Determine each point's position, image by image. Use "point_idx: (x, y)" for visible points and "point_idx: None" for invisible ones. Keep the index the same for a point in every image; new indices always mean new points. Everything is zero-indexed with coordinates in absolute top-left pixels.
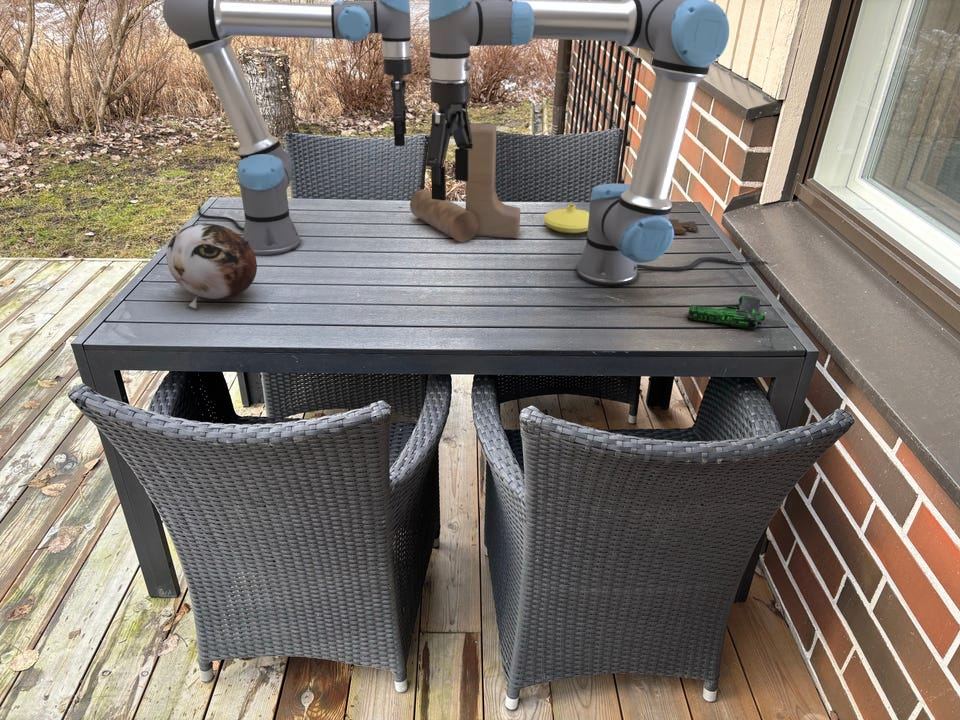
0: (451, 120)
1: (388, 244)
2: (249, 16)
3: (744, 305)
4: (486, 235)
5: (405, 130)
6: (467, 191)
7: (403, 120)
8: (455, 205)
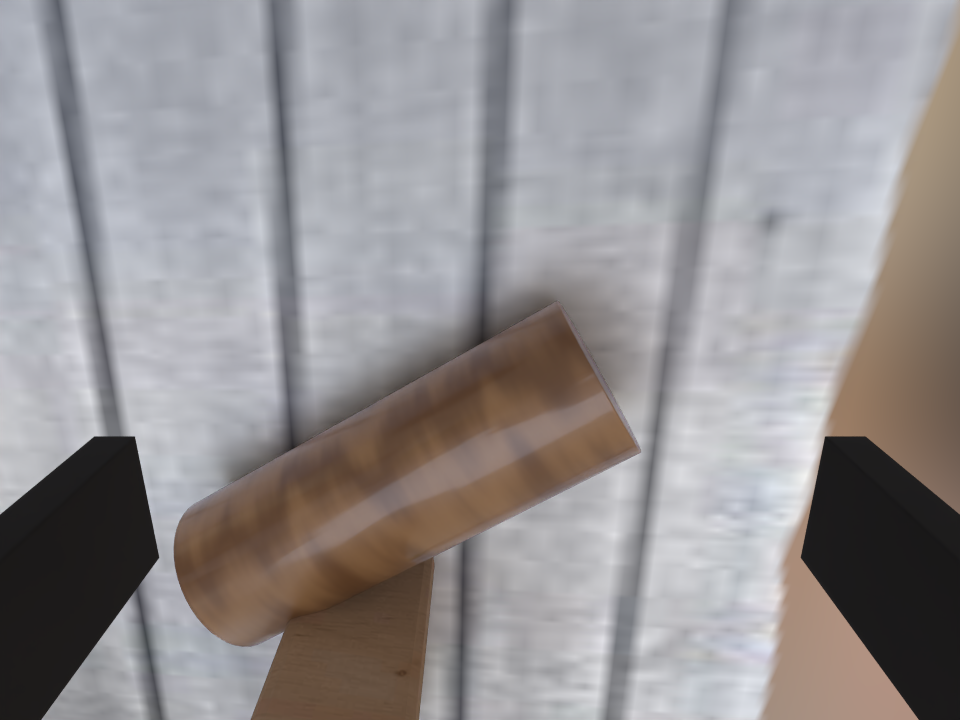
0: None
1: (186, 177)
2: None
3: None
4: None
5: (824, 585)
6: (255, 707)
7: (927, 687)
8: (304, 582)
